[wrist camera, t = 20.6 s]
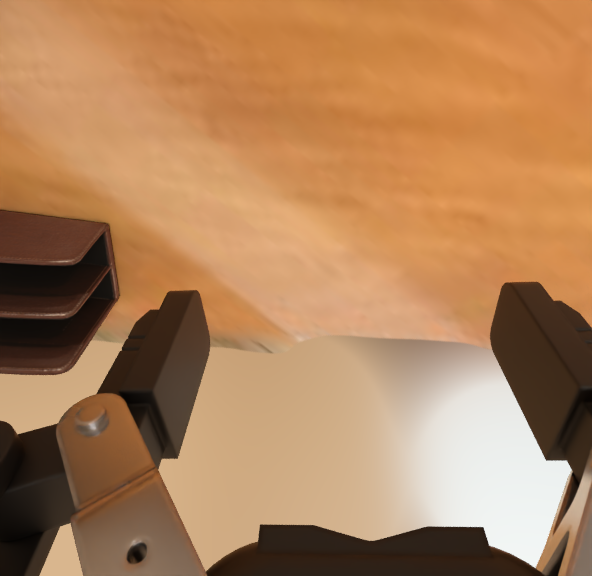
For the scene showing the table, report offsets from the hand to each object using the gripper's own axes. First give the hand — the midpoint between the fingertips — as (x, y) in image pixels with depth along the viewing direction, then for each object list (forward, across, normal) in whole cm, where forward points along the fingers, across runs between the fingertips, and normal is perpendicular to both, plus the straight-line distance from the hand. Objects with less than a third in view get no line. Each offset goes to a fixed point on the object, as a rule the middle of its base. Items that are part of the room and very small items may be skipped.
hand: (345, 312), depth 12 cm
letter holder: (+31, +34, +14) cm, 48 cm away
